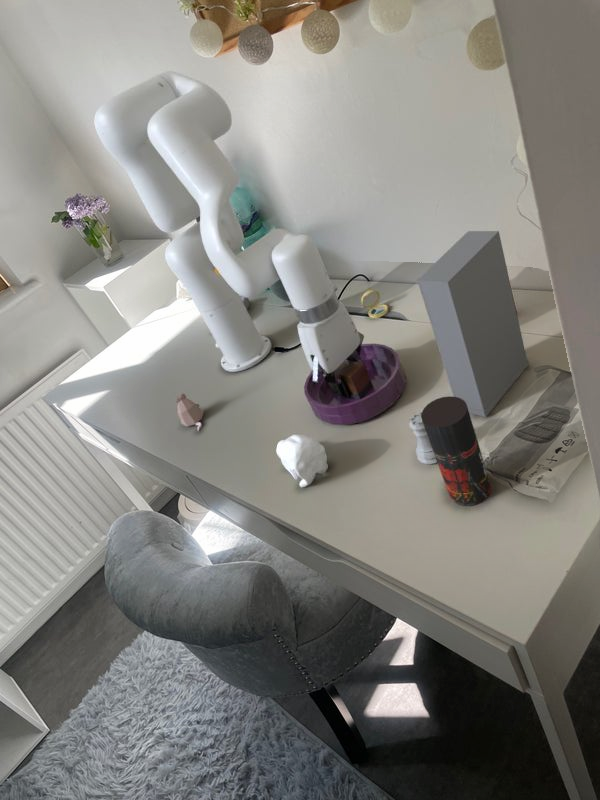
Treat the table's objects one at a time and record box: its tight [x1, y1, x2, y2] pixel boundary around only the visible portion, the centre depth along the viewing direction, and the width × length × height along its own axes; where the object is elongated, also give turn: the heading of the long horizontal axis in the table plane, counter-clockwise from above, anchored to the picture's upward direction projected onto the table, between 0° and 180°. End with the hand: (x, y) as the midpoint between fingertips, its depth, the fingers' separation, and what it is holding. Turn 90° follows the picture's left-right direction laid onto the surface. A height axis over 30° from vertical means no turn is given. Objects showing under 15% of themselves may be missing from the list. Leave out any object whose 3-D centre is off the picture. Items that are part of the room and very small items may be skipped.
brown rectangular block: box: [323, 360, 373, 400], centre depth 114 cm, size 7×4×6 cm, turn 46°
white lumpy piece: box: [275, 434, 329, 488], centre depth 102 cm, size 6×8×12 cm
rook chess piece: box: [408, 411, 438, 465], centre depth 93 cm, size 4×4×8 cm
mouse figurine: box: [174, 392, 204, 432], centre depth 128 cm, size 5×8×7 cm, turn 21°
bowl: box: [303, 343, 407, 426], centre depth 113 cm, size 18×18×5 cm
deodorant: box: [421, 395, 492, 507], centre depth 83 cm, size 6×6×15 cm
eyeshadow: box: [360, 289, 389, 319], centre depth 134 cm, size 4×5×5 cm
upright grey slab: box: [416, 230, 530, 418], centre depth 95 cm, size 14×6×25 cm, turn 134°
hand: (351, 387), depth 115 cm, fingers closed on brown rectangular block, 4 cm apart
